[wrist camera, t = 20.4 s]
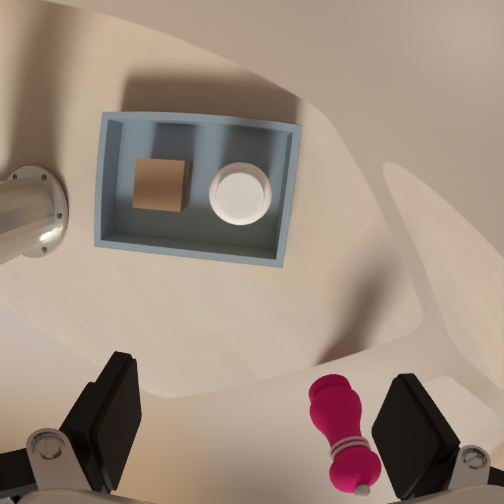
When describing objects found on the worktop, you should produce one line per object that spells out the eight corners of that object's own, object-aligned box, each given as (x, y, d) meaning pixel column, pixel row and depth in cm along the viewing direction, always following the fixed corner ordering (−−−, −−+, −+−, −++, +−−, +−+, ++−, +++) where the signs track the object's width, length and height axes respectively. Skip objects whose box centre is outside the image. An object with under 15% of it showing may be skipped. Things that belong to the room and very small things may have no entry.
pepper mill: (321, 364, 43) (358, 477, 23) (361, 378, 44) (409, 480, 24) (296, 400, 44) (317, 511, 25) (335, 411, 45) (367, 513, 26)
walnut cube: (150, 158, 34) (136, 157, 30) (193, 161, 35) (184, 160, 30) (147, 201, 36) (132, 207, 31) (188, 205, 36) (180, 212, 31)
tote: (111, 236, 38) (94, 246, 33) (119, 117, 34) (102, 112, 29) (278, 254, 38) (282, 268, 34) (294, 130, 35) (302, 125, 30)
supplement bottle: (271, 207, 36) (280, 224, 26) (222, 217, 36) (213, 237, 26) (261, 158, 35) (267, 155, 25) (212, 168, 35) (198, 169, 25)
